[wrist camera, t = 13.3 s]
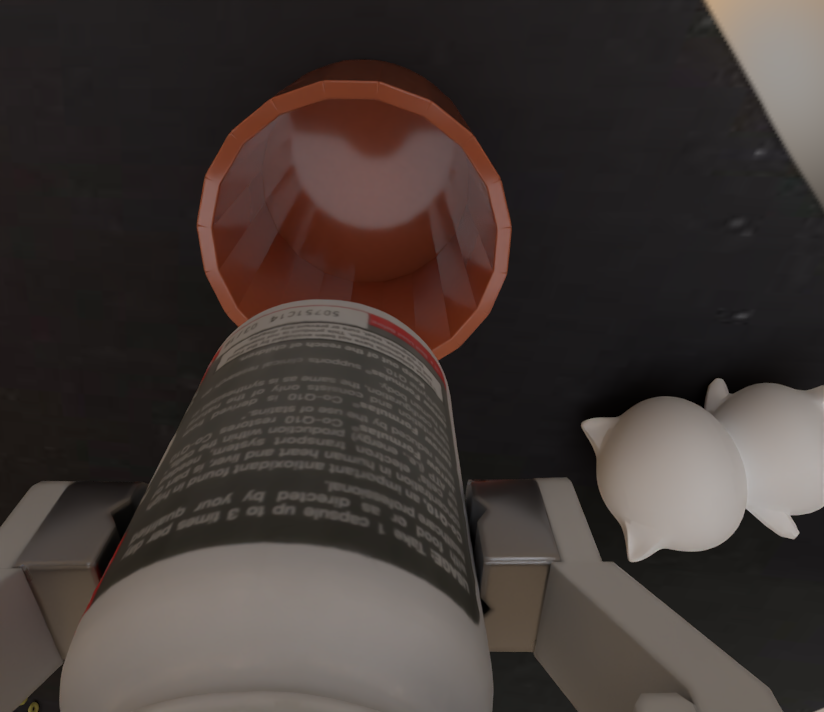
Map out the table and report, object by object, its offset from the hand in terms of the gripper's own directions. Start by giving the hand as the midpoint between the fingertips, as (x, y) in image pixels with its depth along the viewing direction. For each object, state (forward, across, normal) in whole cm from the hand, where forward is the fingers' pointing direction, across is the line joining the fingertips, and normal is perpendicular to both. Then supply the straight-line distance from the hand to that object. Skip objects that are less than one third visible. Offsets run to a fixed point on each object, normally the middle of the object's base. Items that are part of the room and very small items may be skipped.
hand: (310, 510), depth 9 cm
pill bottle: (+3, 0, 0) cm, 3 cm away
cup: (+21, 0, 0) cm, 21 cm away
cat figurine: (+21, -18, +14) cm, 31 cm away
